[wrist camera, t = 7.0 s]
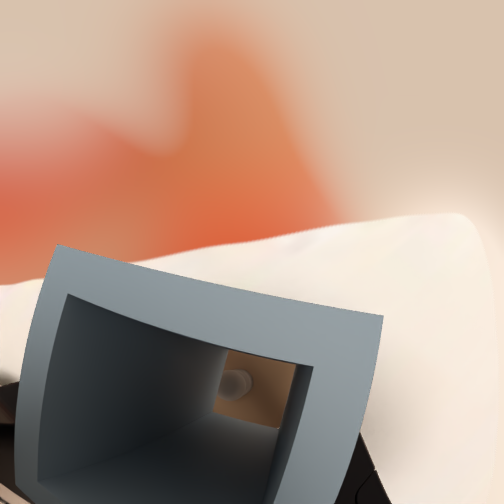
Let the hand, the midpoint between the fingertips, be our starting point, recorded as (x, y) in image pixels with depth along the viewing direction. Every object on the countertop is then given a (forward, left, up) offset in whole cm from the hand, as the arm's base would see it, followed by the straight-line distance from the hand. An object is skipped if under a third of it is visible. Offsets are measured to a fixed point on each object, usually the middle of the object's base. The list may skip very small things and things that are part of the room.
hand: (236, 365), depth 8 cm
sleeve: (-1, 0, -7) cm, 7 cm away
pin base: (-2, +1, -13) cm, 14 cm away
